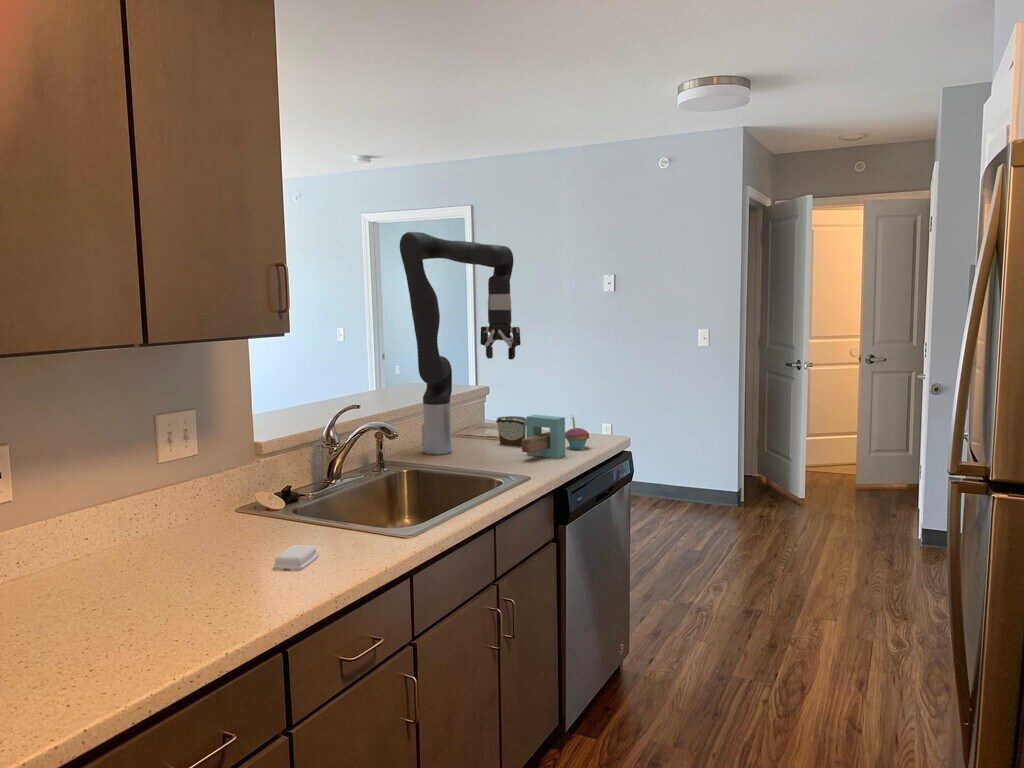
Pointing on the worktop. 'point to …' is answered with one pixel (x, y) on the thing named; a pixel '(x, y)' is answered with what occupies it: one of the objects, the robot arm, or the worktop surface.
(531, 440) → the brown rectangular block
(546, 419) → the light blue hollow block
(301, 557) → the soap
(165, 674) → the worktop surface
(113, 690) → the worktop surface
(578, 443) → the cupcake
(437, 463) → the worktop surface
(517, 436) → the food container
